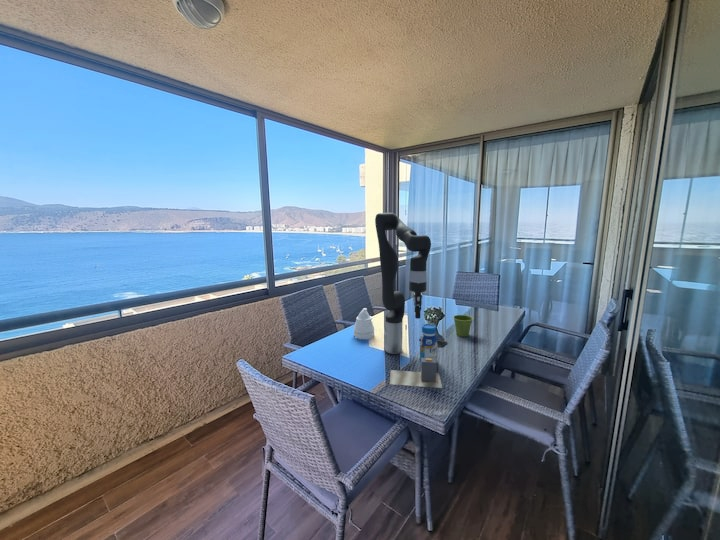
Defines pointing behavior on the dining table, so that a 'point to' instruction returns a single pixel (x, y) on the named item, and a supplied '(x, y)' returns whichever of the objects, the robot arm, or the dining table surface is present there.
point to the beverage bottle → (428, 342)
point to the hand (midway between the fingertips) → (417, 315)
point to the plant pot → (462, 324)
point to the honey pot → (363, 325)
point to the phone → (440, 343)
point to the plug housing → (428, 369)
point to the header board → (412, 379)
